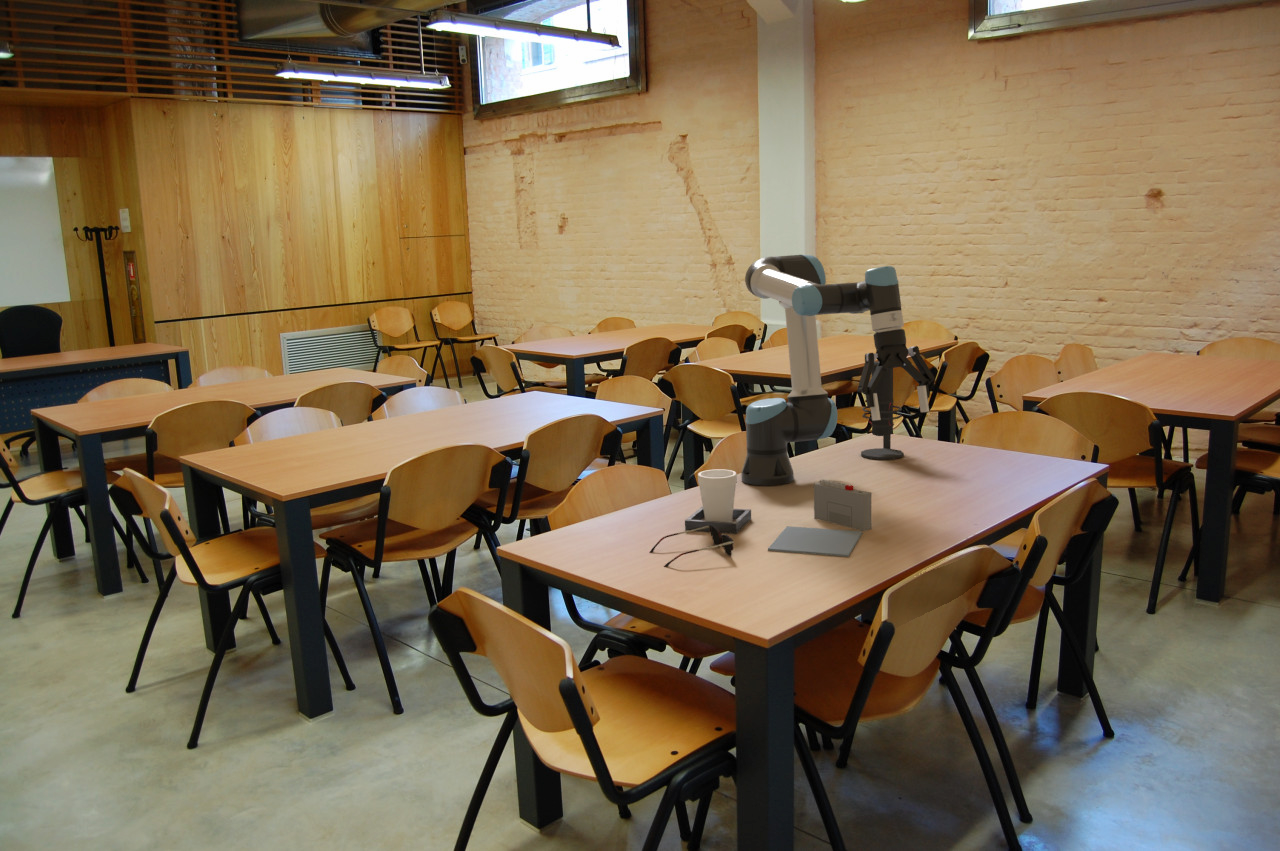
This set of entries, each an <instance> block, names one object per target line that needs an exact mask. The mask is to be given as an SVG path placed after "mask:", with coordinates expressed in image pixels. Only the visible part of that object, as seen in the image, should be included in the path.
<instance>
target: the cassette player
mask: <svg viewBox="0 0 1280 851" xmlns="http://www.w3.org/2000/svg"><path fill="white" fill-rule="evenodd" d="M813 498H814V499H813V508H814V510H813V511H814V515H813V516H814V517H813V518H814V520H818V521H822V522H827V523H830V524H835V525H838V526H842V527H846V528H848V529H849V528H851V529H854V530H856V531H862V532H866V531H869V530H872V492H869V491H867V490H860V489H858V488H857V489H856V488H854V485H851V484H848V483H847V484H845V483H843V482H837V481H832V480H827V479H819V482H816V483H814V484H813Z"/></svg>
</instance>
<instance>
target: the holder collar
mask: <svg viewBox="0 0 1280 851" xmlns="http://www.w3.org/2000/svg"><path fill="white" fill-rule="evenodd" d="M732 520H734V521H732V522H718V521H705V517H704V511H703V506H700V508H698V509H697V510H695V511H694V512H693V513H692V514H691V515H690V516H688V517H687V518H686V519H684V531H689V530H694V529H698V528H702V527H705V526H709V525H714V526H716V527H717V528H718V529H719V531H720V532H721V534H728V535H729V534H730V535H731V534H732V535H737V534H738V533H739V532H740V531H741V530H742V529H744V527H745V526H746V525H747V524H748V523H749V522H751V520H752V509H747V508H734V507H733V517H732ZM695 532H704V533H705V532H706V533H710V528H706V529H700V530H696V531H695Z"/></svg>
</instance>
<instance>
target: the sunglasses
mask: <svg viewBox="0 0 1280 851" xmlns="http://www.w3.org/2000/svg"><path fill="white" fill-rule="evenodd" d="M706 528H710V532H709V533H710V537H712V538H711V539H712V542H713V544H714V545H712V546H707V547H702V548H699V549H694V550H690V551H686V552H682V553H680V554H678V555H676V556H675V557H673V558H672V559H671V560H669V561H668V562H667V563H665V564H664V565H663V567H664V568H667V567H669V566H670V564H672V563H673V562H674V561H676V560H677V559H678V558H680V557H681V556H683V555H687V554H692V553H696V552H700V551H705V550H710V549H713V548H719V549H720V548H721V547H722V548H723V549H724V553H725V554H726V555H728V556H729V557H732V555H733V551H734V542H735V541H734V540H733V538H732V537H731V536H730V535H729V534H727V533H723V534H722V533H721V532H720V531H719V529H718V528H717V527H716V526H714V525H709V526H705V527H702V528H698V529H694V530H689V531H688V530H684V531H681V532H680V531H679V532H676V533H672V534H667V535H665V536H663V537H661V538H660V539H659V540H658V542H656V544H655V545H654V546H653V547H652V548H651V550H650V551H649V554H652V553H654V551H655V549H656V548H657V546H659V544H660V543H661V542H662V541H663V540H664V539H666V538H669V537H670V538H671V537H674V536H678V535H683V534H686V533H690V532H697V531H696V530H700V529H706Z"/></svg>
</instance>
